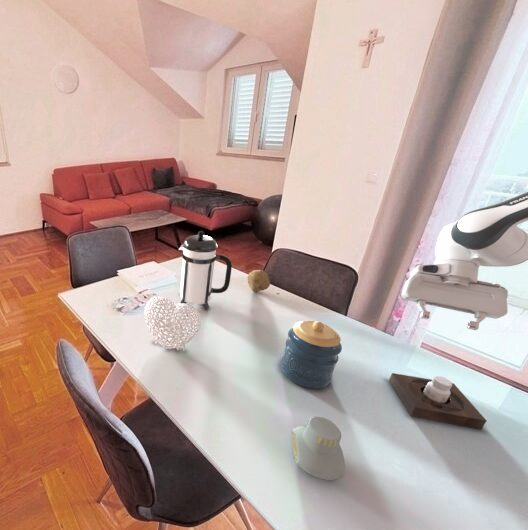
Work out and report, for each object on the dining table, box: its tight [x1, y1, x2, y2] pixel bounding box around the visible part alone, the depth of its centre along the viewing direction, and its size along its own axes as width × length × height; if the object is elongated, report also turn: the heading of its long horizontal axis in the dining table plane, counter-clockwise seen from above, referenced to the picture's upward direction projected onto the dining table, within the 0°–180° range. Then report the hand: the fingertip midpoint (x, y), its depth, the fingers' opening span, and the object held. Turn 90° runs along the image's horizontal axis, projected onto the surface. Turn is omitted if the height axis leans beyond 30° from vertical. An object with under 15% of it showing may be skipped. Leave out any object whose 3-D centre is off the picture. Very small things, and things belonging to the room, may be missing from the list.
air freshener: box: [290, 416, 346, 481], centre depth 65 cm, size 11×8×10 cm
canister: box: [280, 320, 343, 390], centre depth 87 cm, size 13×13×18 cm
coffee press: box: [178, 230, 233, 310], centre depth 122 cm, size 17×16×30 cm
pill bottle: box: [423, 375, 453, 404], centre depth 79 cm, size 4×4×8 cm
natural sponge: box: [247, 269, 271, 293], centre depth 133 cm, size 9×9×10 cm
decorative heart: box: [143, 296, 201, 352], centre depth 98 cm, size 18×11×17 cm, turn 60°
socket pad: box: [388, 372, 488, 430], centre depth 80 cm, size 14×12×3 cm
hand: (447, 323), depth 83 cm, fingers open, 8 cm apart
